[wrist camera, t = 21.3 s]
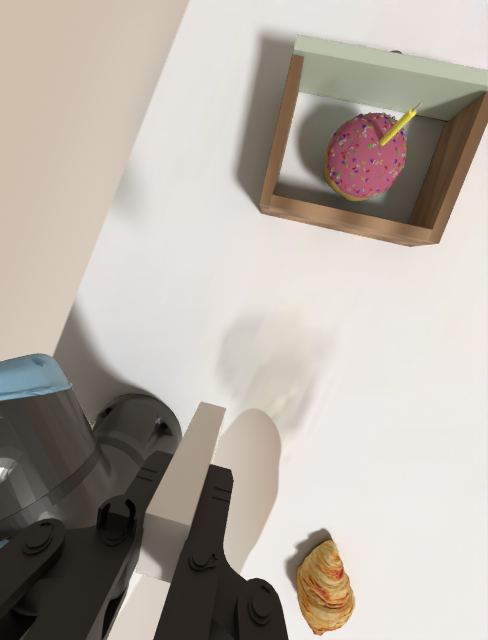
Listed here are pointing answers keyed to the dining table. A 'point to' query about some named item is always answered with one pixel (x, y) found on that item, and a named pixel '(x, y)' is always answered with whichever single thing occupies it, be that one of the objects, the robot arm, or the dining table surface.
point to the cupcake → (366, 155)
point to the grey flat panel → (387, 78)
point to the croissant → (324, 589)
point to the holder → (434, 195)
